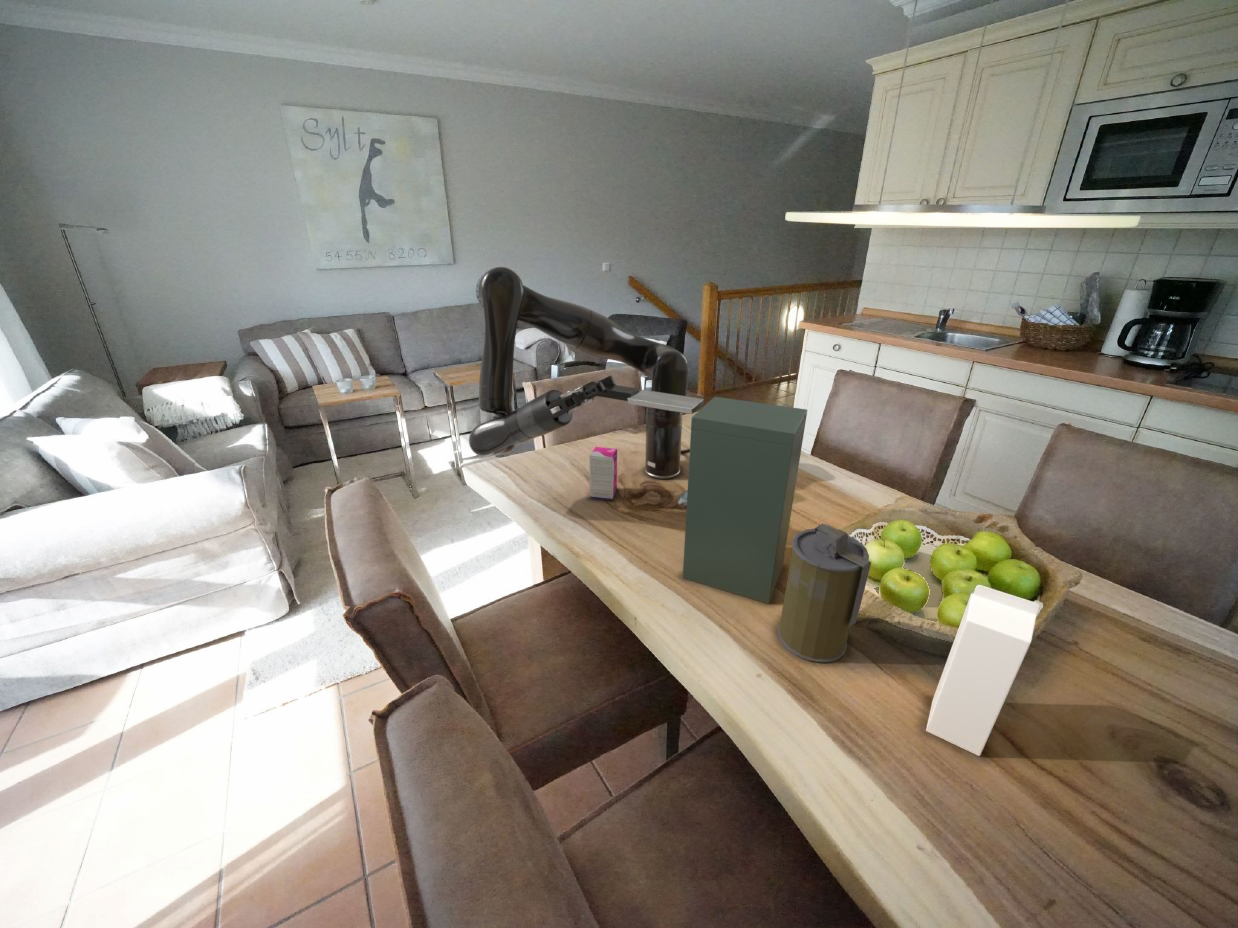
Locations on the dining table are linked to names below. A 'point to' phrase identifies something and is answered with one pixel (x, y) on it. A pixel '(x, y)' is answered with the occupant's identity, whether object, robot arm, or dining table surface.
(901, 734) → the dining table surface
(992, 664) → the milk
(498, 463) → the dining table surface
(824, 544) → the canister
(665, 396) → the long-handled flat paddle
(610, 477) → the supplement box
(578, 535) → the dining table surface
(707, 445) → the tall green lidded box
